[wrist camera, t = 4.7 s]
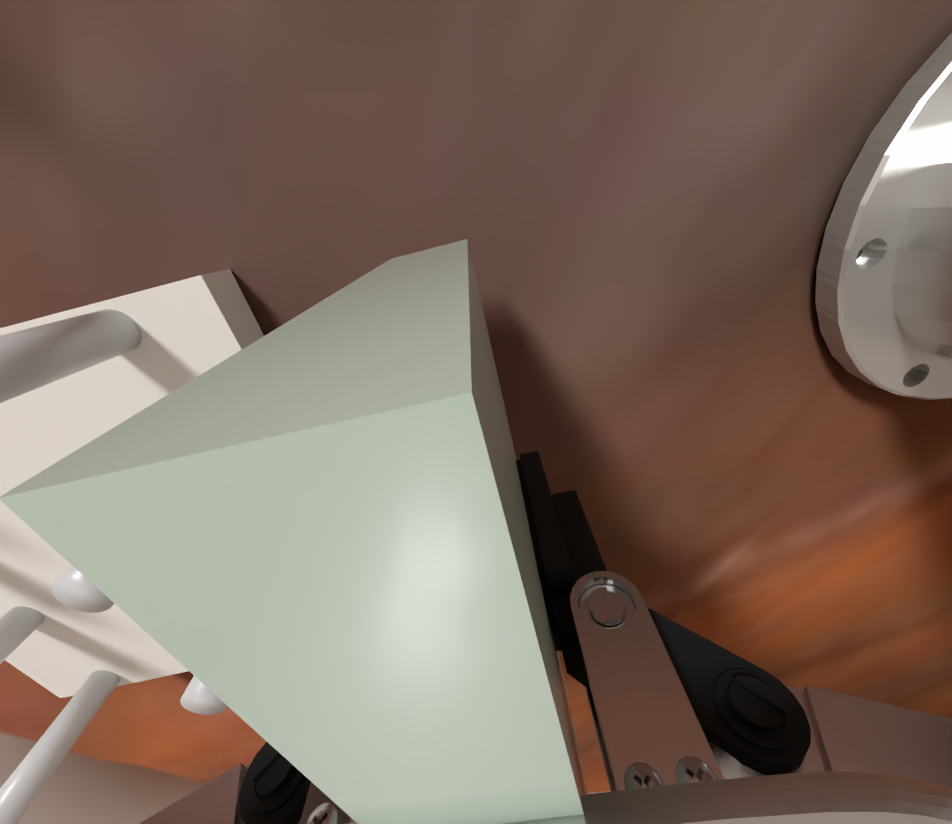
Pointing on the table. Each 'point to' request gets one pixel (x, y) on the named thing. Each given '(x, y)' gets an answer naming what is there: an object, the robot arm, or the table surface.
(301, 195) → the table surface
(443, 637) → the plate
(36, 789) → the dish rack
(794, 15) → the table surface
